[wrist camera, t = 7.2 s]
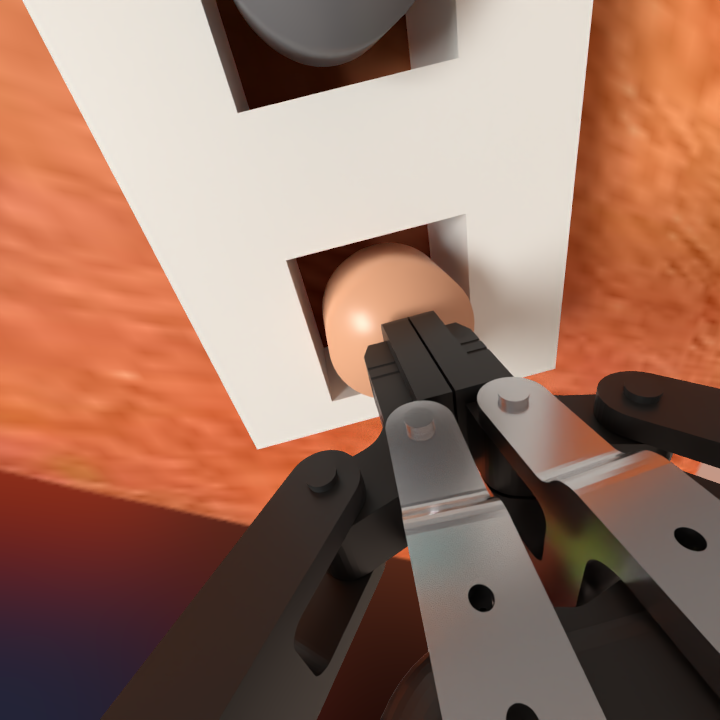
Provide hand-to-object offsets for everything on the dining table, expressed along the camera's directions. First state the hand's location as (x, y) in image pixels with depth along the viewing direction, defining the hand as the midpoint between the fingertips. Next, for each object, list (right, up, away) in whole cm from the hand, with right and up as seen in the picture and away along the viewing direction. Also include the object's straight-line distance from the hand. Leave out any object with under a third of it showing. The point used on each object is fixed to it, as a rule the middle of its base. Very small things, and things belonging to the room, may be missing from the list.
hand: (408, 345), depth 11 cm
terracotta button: (-1, +1, +2) cm, 3 cm away
